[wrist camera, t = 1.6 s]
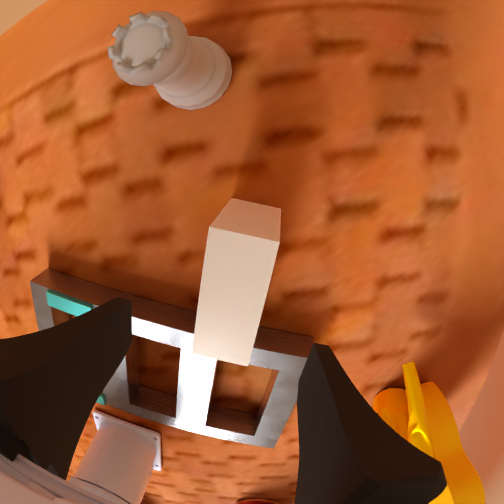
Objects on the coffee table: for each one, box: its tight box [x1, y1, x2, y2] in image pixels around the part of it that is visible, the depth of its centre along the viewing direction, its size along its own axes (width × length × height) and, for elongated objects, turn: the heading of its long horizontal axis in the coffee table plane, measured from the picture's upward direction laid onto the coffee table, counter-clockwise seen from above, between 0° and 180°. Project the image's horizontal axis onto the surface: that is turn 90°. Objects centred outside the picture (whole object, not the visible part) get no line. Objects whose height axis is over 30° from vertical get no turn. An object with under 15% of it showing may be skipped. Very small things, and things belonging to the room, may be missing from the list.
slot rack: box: [30, 268, 313, 448], centre depth 23 cm, size 11×22×3 cm, turn 79°
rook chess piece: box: [108, 11, 232, 110], centre depth 12 cm, size 4×4×8 cm
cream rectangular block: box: [192, 198, 281, 366], centre depth 17 cm, size 7×3×6 cm, turn 169°
